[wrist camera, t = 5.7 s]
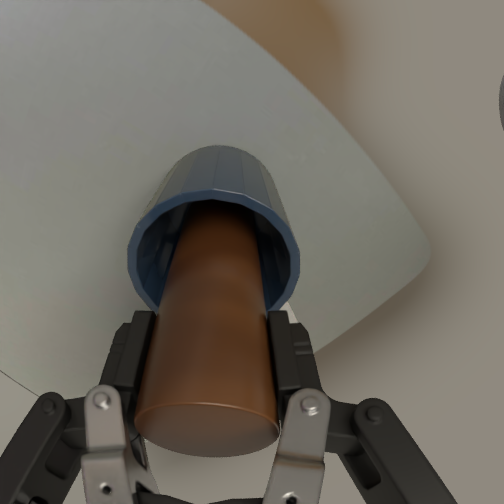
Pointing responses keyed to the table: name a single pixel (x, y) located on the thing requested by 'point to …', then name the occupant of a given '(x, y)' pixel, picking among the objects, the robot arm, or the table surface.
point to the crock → (219, 188)
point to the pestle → (211, 343)
